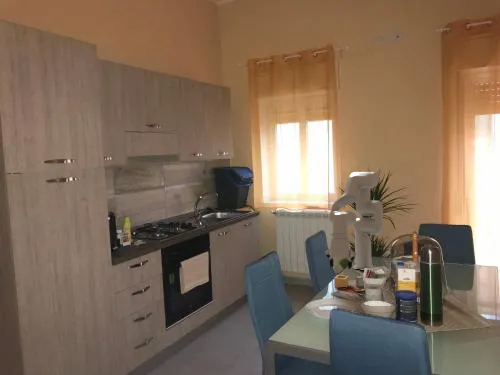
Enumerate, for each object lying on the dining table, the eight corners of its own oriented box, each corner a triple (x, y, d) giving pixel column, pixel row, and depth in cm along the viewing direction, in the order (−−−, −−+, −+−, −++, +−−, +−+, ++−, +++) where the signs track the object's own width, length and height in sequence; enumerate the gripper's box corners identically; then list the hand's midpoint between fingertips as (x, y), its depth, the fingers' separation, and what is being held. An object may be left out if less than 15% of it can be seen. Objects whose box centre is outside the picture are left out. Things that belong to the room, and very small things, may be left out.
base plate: (349, 287, 213) (349, 284, 213) (362, 285, 215) (362, 283, 215) (357, 292, 205) (357, 289, 205) (371, 290, 207) (371, 287, 207)
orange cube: (334, 286, 215) (334, 277, 215) (338, 283, 221) (337, 274, 220) (345, 288, 212) (345, 279, 212) (348, 285, 218) (348, 276, 217)
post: (356, 285, 211) (355, 276, 211) (361, 285, 212) (360, 275, 212) (358, 287, 208) (358, 278, 208) (364, 286, 209) (363, 277, 209)
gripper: (322, 236, 216) (323, 267, 216) (354, 238, 207) (354, 270, 208) (327, 233, 222) (327, 264, 223) (358, 235, 213) (358, 267, 214)
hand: (340, 267), depth 215 cm, fingers open, 9 cm apart
